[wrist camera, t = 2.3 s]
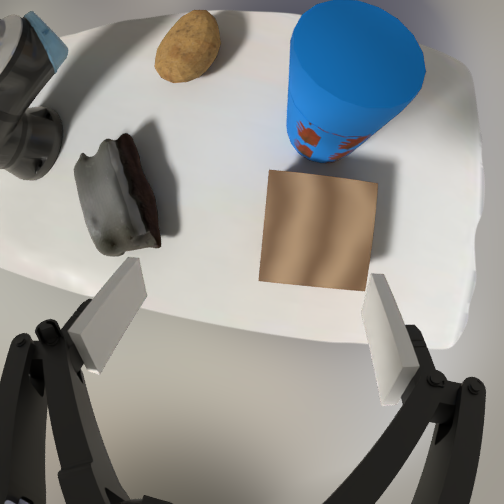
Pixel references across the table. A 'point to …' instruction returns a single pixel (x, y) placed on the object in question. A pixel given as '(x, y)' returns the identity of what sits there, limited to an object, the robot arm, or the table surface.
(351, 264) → the small wooden stool
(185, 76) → the potato
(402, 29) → the thermos
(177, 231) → the table surface
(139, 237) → the rock
